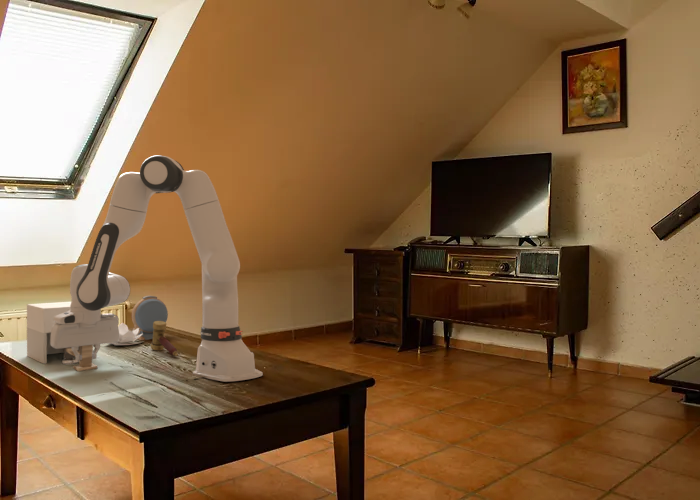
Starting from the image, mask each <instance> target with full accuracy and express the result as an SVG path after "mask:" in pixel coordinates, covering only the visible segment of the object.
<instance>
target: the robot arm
mask: <svg viewBox="0 0 700 500" xmlns="http://www.w3.org/2000/svg"><path fill="white" fill-rule="evenodd" d="M164 193H165V194H168V193H176V194H177V196H178V197H179V199H180V202H181V204H182V208H183V211H184V215H185V218H186V221H187V223H188V224H187V225H188V227H189V230H190V233H191V236H192V239H193V243H194V244H195V245H194V246H195V248H196V250H197V254H198V257H199V260H200V263H201V292H202V293H201V295H202V297H201V298H202V299H201V300H202V306H201V307H202V308H201V309H202V311H201V312H202V318H201V319H202V326H201V327H200V338H201V343H200V345H199V346H198V347H197V355H196V365H195V370H194V371H192V374H193V375H197V376H201V377H202V378H203V379H204V378H205V379H209V380H213V381H220V382H225V383H228V382H239V381H245V380H251V379H256V378H259V377H262V376H264V375H263V372H264V371H263V372H262V371H260V370H258V368H257V369H256V365H255V363H256V362H255V353H254V352H253V351H251V350H250V349H249V347H248V346H247V345H246V344H245V343H244V342H243V340H242V339H243V332H244V331H243V330H241V328H240V325H239V294H238V293H239V291H238V290H239V289H238V275H239V272H240V270H241V262H240V258H239V256H238V252H237V249H236V247H235V244H234V240H233V238H232V235H231V233H230V230H229V228H228V225H227V221H226V218H225V214H224V213H223V209H222V205H221V203H220V199H219V196H218V194H217V191H216V189H215V186H214V184H213V182H212V180H211V178H210V177H209V175H208V173H206V172H205V171H204V170H200V169H191V170H185V169H184V167H183V165H181V164H180V162H179V161H177V160H175V159H173V158H171V157H169V156H166V155H162V154H159V155H152V156H150V157H148V158H146V159H145V160H144V161H143V162H142V164H141V166H140V169H139V172H135V171H129V172H124V173H122V174H120V176H118V178H117V180H116V182H115V185H114V187H113V190H112V194H111V198H110V202H109V205H108V208H107V209H108V210H107V213H106V217H105V219H104V222H103V224H102V226H101V228H100V230H99V232H97V233H98V234H97V236H96V239H95V240H94V241H95V242H94V243H93V248H92V252H91V255H90V257H89V261H88V263H86V264H85V263H84V264H79V265H76V266H75V267H73V269H72V270H71V274H70V281H69V282H70V283H69V294H70V297H71V301H70V302H71V305H70V310H69V311H67V312H64V313H61V314H59V315H56V316H55V317H54V322H56V324H54V325H53V327H52V330H51V339H50V344H51V346H52V347H53V348H55V349H59V348H68V347H72V351H73V353H74V354H75V356H74V358H75V360H76V361H81V360H82V355H81V354H79V353H78V352H77V350H78V346H86V345H93V352H92V360H94V359H97V358H98V357H97V356H98V355H97V354H98V352H99V351H100V348H101V345H104V344H110V343H114V342H117V341H118V340H119V329H118V326H119V325H120V324H119V323H120V322H119V321H120V320H119V316H118V315H117V314H115V313H102V309H105V308H108V307H113V306H116V305H117V306H118V305H121V304H123V303H125V302H126V301H127V300H128V299H129V297H130V294H131V284H130V283H129V281H128V279H127V278H126V277H125V276H123V275H120V274H116V273H113V272H110V271H111V268H112V264H113V261H114V257H115V255H116V252H117V251H118V249H119V248H120V247H121V245H122V244H124V243H125V242H126V241H128V240H130V239H131V238H133V237H135V236H136V235H138V234H139V233H141V231H142V229H143V226H144V224H145V221H146V217H147V213H148V207H149V203H150V200H151V197H153V195H155V194H164Z"/></svg>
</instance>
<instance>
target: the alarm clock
mask: <svg viewBox="0 0 700 500" xmlns="http://www.w3.org/2000/svg"><path fill="white" fill-rule="evenodd" d="M168 312H169V311H168V308H167V305H166V304H165V303H164V301H162V300H161V299H159V298H158V297H157V296H155V295H145V296H143V297H142V299H139V300H138V301H137V302H136V303H135V305H133V308H132V310H131V321H132V323H133V326H134V327H135V328H136V329H137V328H139V332H138V334H137V336H138V335H140V334H142V335H141V336H140V337H139V338H138V339H137V340H139V341H145V340H147V341H148V340H153V330H154V328H153V322H155V321H164V322H166V323H167V320H168V316H169V313H168ZM135 325H136V326H135ZM164 337H165V338H167V337H166V335H164Z"/></svg>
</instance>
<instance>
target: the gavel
mask: <svg viewBox="0 0 700 500" xmlns="http://www.w3.org/2000/svg"><path fill="white" fill-rule="evenodd" d="M153 328H154V330H153V339H151V340H152V341H151V343H150V349H151V350H153V351H156V352H157V351H162V350H164V349H165V350H166V351H167V352H168V353H169V354H170V355H171V356H174V357H178V355H179V354H178V353H179V352H178V349H177V348H176V347H175V346H174V345H173V344H172V343H171V342H170V341H169V340H168V338H167V337H164V336H165V330H166V328H167V321H166V322H164V321H155V322H153Z"/></svg>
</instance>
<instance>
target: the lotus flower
mask: <svg viewBox="0 0 700 500" xmlns="http://www.w3.org/2000/svg"><path fill="white" fill-rule="evenodd" d="M135 326H136V325H134V327H133V329H132V331H131V330H129V327H128V325H127V324H125V323H124V322H121V323H120V324H118V329H119V340H118V341H117V342H114V343H109V345H110V344H111V345H114V346H130V345H137V344H141V343H142V341H140V342H135V343H134V341H136V340H139V339H138V338H139V337H140V336H141V335H142V334H140V335H138V334H139V333H140V330H139V328H136V327H135ZM135 328H136V329H135ZM137 335H138V336H137Z"/></svg>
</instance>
